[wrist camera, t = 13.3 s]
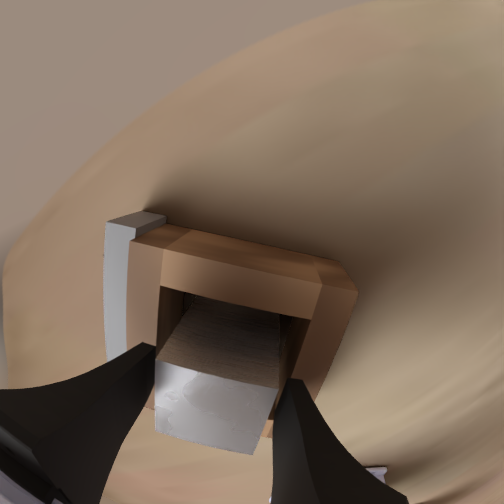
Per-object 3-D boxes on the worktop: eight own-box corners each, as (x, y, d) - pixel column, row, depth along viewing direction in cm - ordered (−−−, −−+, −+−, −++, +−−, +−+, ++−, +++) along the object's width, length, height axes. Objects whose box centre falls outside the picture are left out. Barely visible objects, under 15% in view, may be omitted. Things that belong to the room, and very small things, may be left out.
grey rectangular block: (279, 300, 15) (278, 389, 8) (262, 360, 16) (252, 455, 9) (204, 283, 15) (155, 359, 8) (195, 344, 16) (155, 431, 9)
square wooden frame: (338, 261, 14) (359, 292, 10) (292, 393, 17) (293, 440, 13) (165, 223, 14) (129, 240, 10) (154, 361, 17) (130, 401, 13)
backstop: (166, 215, 14) (135, 228, 11) (154, 368, 17) (133, 402, 14) (141, 210, 14) (106, 221, 11) (134, 361, 17) (111, 393, 14)
